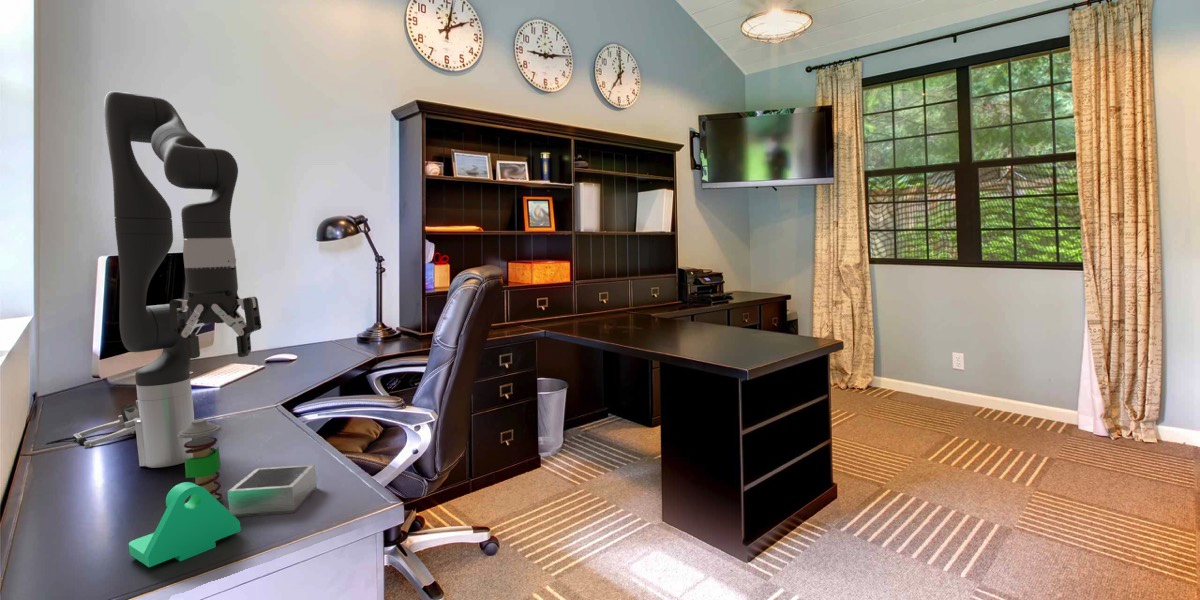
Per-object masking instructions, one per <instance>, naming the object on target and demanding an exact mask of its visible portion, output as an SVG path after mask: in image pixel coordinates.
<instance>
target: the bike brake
mask: <svg viewBox="0 0 1200 600" xmlns="http://www.w3.org/2000/svg"><path fill="white" fill-rule="evenodd" d="M135 404H136V405H133V403H130V404H126V405H123V406H120V407H119V411H120V414H121V415H118V419H117V420H115V421H111V422H107V423H105V424H101V425H97V426H94V427H91V428H88V429H85V430H83V431H80V432H78V433H77V432H76V433H74V434H72V437H71V436H70V437H65V438H60V439H56V440H52V441H48V442H46V443H45V445H51V444H56V443H59V442H60V443H61V442H64V441H71V440H75V441H76V442H77V443H79V444H81V445H84V448H92V447H93V446H96V445H98V444H99V445H100V444H102V443H105V442H108V441H113V440H114V439H117V438H120V437H122V436H126V435H127V434H130V435H135V434H136V427H135V422H136V421H138V420H140V415H139V406H138V399H137V400H135ZM121 426H125V427H124V428H122V429H120V430H117V431H115V432H113V433H110V434H108V435H105V436H101V437H98V438H94V439H89V440H88V439H86V438H83V437H86V436H89V435H91V434H95V433H97V432H100V431H104V430H105V431H106V430H110V429H113V428H118V427H121Z"/></svg>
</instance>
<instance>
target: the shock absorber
mask: <svg viewBox="0 0 1200 600" xmlns="http://www.w3.org/2000/svg"><path fill="white" fill-rule="evenodd" d="M191 423H192V424H191V425H189V426H188V427H186V428H185V429H184V430H182V431H180V432H179V434H178V435H177V436H178V438H192V440H191V441H189V442H187V443H185V444H184V447H185V448H192V449H188V450H186V451H185V452H186V453H193V458H190V459H185V462H184V468H185V469H184V470H185V479H188V478H189V479H191V478H194V480H195V481H194V482H193V483H194V484H196V485H198V486H200V487H203V488H205V489H206V490H207V491H208V492H209V493H210V494H211V495H212V496H213V497H214V498H215V499H217V500H218V501H220V500H221V499H222V498H223V496H224V495H223V493H221V492H219V490H220V488H221V485H222V484H221V483H220V482H219V481H217V480H218V479H219V478H220V475H221V473H220V471H219V470H220V469H221V456H220V448H219V446H217V447H216V448H214V445H215V444H216V443H217V442H218V438H216V437H214V436H213V437H209V436H211V435H214V434H217V433H218V432H220V431H221V430H222V427H221V425H219V424H215V423H213V422H209V421H207V419H206V418H200V419H199V418H198V419H194V421H192V422H191ZM187 445H188V446H187ZM214 474H216V475H215V476H214ZM215 485H217V487H216V488H215ZM190 498H191V495H190V496H189V499H190Z"/></svg>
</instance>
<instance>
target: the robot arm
mask: <svg viewBox="0 0 1200 600" xmlns="http://www.w3.org/2000/svg"><path fill="white" fill-rule="evenodd" d="M103 117H104V118H103V119H104V124H105V132H106V133H105V134H106V140H107V146H108V152H109V158H110V164H111V171H112V172H111V173H112V184H113V212H114V228H115V237H116V245H117V254H118V265H119V316H118V317H119V333H120V338H121V342H122V344H123V347H124V348H125V349H126V350H127V351H129V352H131V353H143V352H149V351H156V350H162V351H161V354H160V355H159V356H158V357H157V358H156V359H154V360H153V361H151V362H150V363H149V364H147V365H145V366H142V367H141V368H139V369H138V370H136V372H135V386H136V397H137V400H138V406H139V415H140V420H138V421H136V422H135V427H136V444H137V453H138V461H139V462H138V463H139V467H147V468H151V469H152V468H154V469H155V468H166V467H167V468H168V467H171V466H177V465H180V464H185V459H190V458H193V453H186V452H185V451H186V450H188V449H192V448H185V447H184V444H185V443H187V442H189V441H191V440H192V438H178V436H177V435H178V434H179V432H180V431H182V430H184V429H185V428H186V427H188V426H189V425H191V424H192V423H191V422H192V421H194V420H195V412H194V401H193V393H192V392H193V391H192V384H191V383H192V382H191V372H190V371H191V363H192V362H191V361H192V360H191V359H197V358H199V357H200V356H201V352H200V351H201V350H200V339H199V335H197V334H198V333H199V331H200V330H201V329H202V327H203V326H205V325H206V324H211V323H215V324H224V323H225V324H226V325H227V326H228V327H230V328H231V329H232V330H233V331H234V332H235V333H236V334H237V336H236V347H237V348H236V349H237V356H238V358H244V357H247V356H248V357H249V355H250V353H251V351H252V342H251V334H252V333H254V332H256V331H260V330H261V329H262V321H261V314H260V308H259V307H260V306H259V302H258V298H257V296H247V297H244V298H243V297H242V298H240V296H239V294H238V290H239V284H238V274H237V273H238V272H237V258H236V250H235V246H234V243H233V238H232V237H233V236H232V224H231V223H232V222H231V221H232V220H231V208H232V204H233V203H232V202H233V197H234V192H235V188H236V185H237V182H238V181H237V180H238V176H239V167H238V163H237V160H236V159H235V157H234V155H232V153H231V152H229V151H227V150H225V149H222V148H221V149H220V148H211V147H210V148H209V147H208V148H207V147H206V146H205V144H204V143H203V142H202V141H201V140H200V139H199V138H198V137H196V135H194V134H193V133H191V132H190V131H189V130H188V129H187V126H186V125H185V124H184V123H185V122H184V121H183V120H182V117H181V116H180V115H179V113H178V111H177V110H176V109H175V107H174V106H173V104H172V103H170V102H169V101H168V100H166V99H165V98H161V97H158V96H152V95H145V94H138V93H131V92H127V91H126V92H125V91H117V90H111V91H109V92H107V93H106V95H105V97H104V101H103ZM132 142H135V143H143V144H144V143H146V144H150V146H151V148H152V151H153V152H154V154H155V155H156V156H157V158H159V160H161V162H163V171H164V174H165V177H166V180H167V181H168V182H169V183H170V184H171V185H173V186H174V187H177V188H181V189H186V190H187V189H188V190H207V191H208V190H209V191H210V190H212V191H211V196H210V197H209V199H207V200H206V201H201V202H195V203H189V204H186V205H183V207H182V208H181V214H180V216H181V226H182V236H183V248H182V253H183V254H182V256H183V264H184V265H183V266H184V275H185V277H184V278H185V284H186V285H185V286H186V287H185V288H186V292H187V294H188V299H184V298H177V299H171V300H170V301H169V303H165V304H156V305H154V304H153V305H147V295H148V288H149V286H150V283H151V280H152V278H153V277H154V275H155V273H156V272H157V270H158V269H159V267H160V265H161V264H162V263H163V261H164V260H165V258H166V256H168V253H169V252H170V250H171V247H172V246H173V242H174V231H173V216H172V210H171V207H170V206H169V204H168V202H167V201H166V199H165V198H164V197H163V195H162V194H161V193H160V191H158V189H157V188H156V186H154V184H153V183H152V182H151V181H150V179H149V178H148V176H146V174H145V173H144V172H143V170H142V168H141V166H140V165H139V163H138V161H137V159H136V156H135V153H134V150H133V147H132ZM240 306H241V307H240ZM239 307H240V308H241V309H242V310H243V311H244V317H243V316H242V315H241V314H240V312H239V311H238V309H239ZM188 309H189V310H190V312H191V313H192V314H191V315H190V317H189V318H188V315H187V311H188ZM187 446H188V445H187Z"/></svg>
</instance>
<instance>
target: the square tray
mask: <svg viewBox="0 0 1200 600" xmlns="http://www.w3.org/2000/svg"><path fill="white" fill-rule="evenodd" d="M316 473H317V471H316V464H304V465H303V464H302V465H290V466H285V465H284V466H274V467H258V468H257V467H256V468H255V469H254V470H253V471H252V472H250V473H249V474H248V475H246V476H245V477H244V478H243V479H241V480H239V482H238V483H236V484H235V485H234V486H232V487H231V488H230V489H228V490H227V498H228V500H227V501H228V509H229V510H228V511H229V512H230V513H231V514H232V515H233V516H235V517H236V518H245V517H257V516H270V515H272V516H273V515H285V514H287V515H288V514H295V513H296V512H297V511H298V510H299V509H300V507H302V505H303V504H305V502H306V501H307V500H308V498H310V496H312V494H313V493H314V492H315V491H316V490H317V489H318V485H317V484H318V483H317V474H316Z"/></svg>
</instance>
